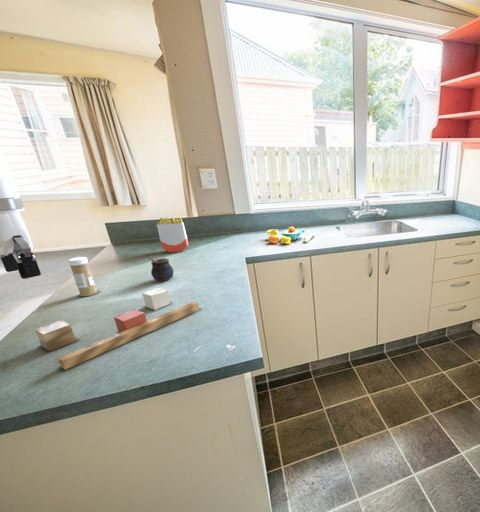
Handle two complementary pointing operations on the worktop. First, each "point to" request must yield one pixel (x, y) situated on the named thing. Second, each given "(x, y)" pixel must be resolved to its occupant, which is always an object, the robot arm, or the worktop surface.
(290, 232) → the toy juicer set
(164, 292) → the cream block
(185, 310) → the rail
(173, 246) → the french fries container
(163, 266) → the mate gourd
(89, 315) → the worktop surface
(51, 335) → the maple block
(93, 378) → the worktop surface
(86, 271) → the sprinkles bottle
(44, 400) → the worktop surface
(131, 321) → the terracotta block
